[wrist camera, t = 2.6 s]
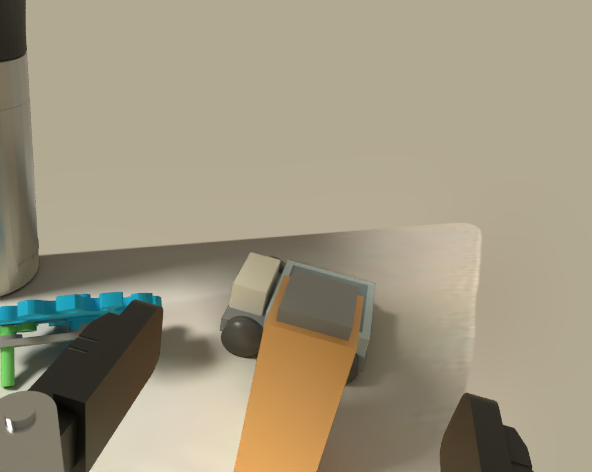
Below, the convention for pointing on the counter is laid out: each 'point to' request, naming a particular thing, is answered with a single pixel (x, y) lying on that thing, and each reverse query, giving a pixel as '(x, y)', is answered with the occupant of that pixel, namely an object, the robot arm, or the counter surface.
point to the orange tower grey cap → (299, 374)
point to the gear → (55, 321)
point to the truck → (260, 296)
